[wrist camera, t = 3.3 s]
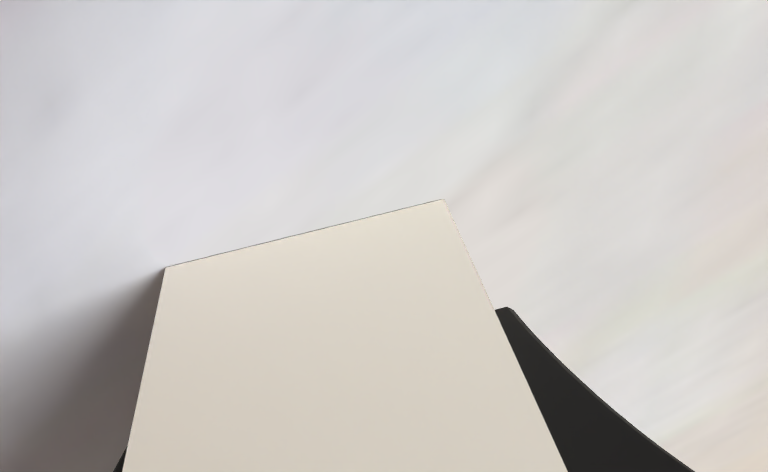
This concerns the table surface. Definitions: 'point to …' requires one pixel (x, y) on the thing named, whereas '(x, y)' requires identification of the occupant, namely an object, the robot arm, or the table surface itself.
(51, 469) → the table surface
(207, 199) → the table surface
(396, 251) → the cream cube
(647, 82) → the table surface
